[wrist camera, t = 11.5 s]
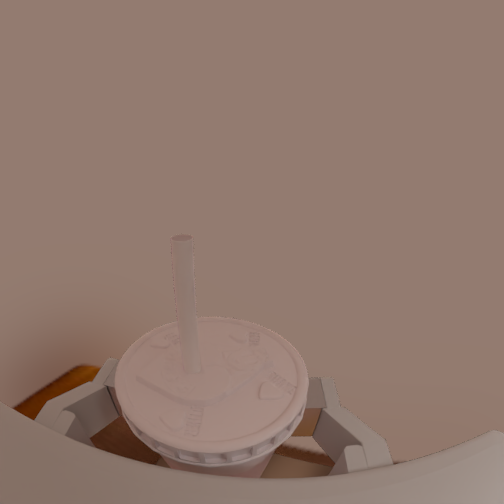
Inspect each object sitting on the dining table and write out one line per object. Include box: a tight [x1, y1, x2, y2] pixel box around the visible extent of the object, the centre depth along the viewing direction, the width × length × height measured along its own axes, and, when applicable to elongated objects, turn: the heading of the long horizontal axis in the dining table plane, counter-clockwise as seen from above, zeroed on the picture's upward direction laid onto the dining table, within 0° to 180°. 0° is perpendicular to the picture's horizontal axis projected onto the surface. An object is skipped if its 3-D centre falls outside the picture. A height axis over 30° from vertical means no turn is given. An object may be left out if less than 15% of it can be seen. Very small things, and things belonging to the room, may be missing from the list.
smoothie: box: [115, 234, 309, 478], centre depth 9 cm, size 6×6×14 cm
